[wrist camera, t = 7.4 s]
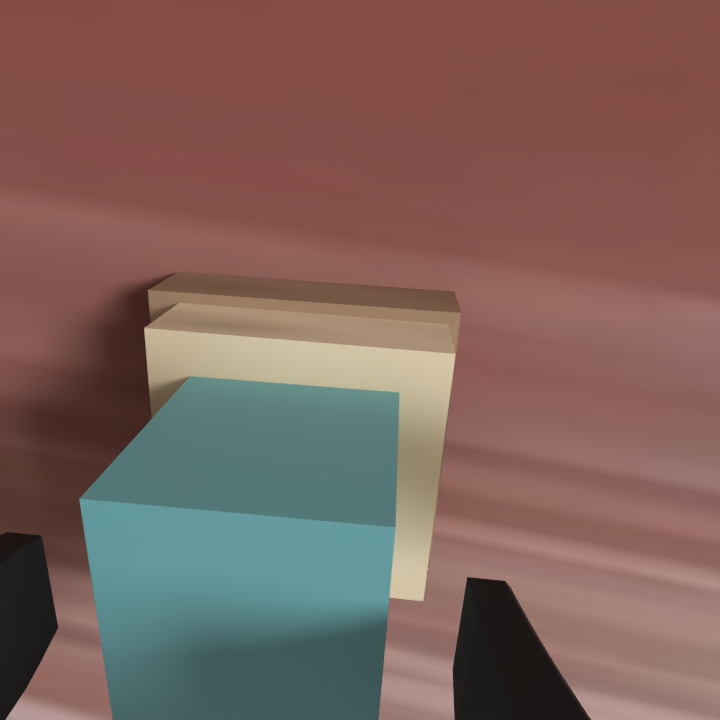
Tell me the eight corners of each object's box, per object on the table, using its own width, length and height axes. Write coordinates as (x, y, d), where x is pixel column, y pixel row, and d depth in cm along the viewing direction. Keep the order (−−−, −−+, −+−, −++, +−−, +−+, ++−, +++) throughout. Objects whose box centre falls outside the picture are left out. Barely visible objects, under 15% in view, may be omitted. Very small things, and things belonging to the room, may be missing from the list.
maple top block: (421, 546, 16) (423, 600, 14) (191, 524, 16) (163, 574, 14) (448, 324, 14) (455, 354, 12) (179, 302, 14) (144, 328, 12)
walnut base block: (426, 513, 18) (429, 567, 16) (198, 493, 19) (169, 542, 17) (452, 286, 16) (461, 313, 13) (184, 267, 16) (147, 290, 14)
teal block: (385, 563, 14) (375, 749, 10) (200, 545, 14) (112, 720, 10) (399, 392, 12) (395, 527, 8) (190, 376, 12) (79, 499, 8)
